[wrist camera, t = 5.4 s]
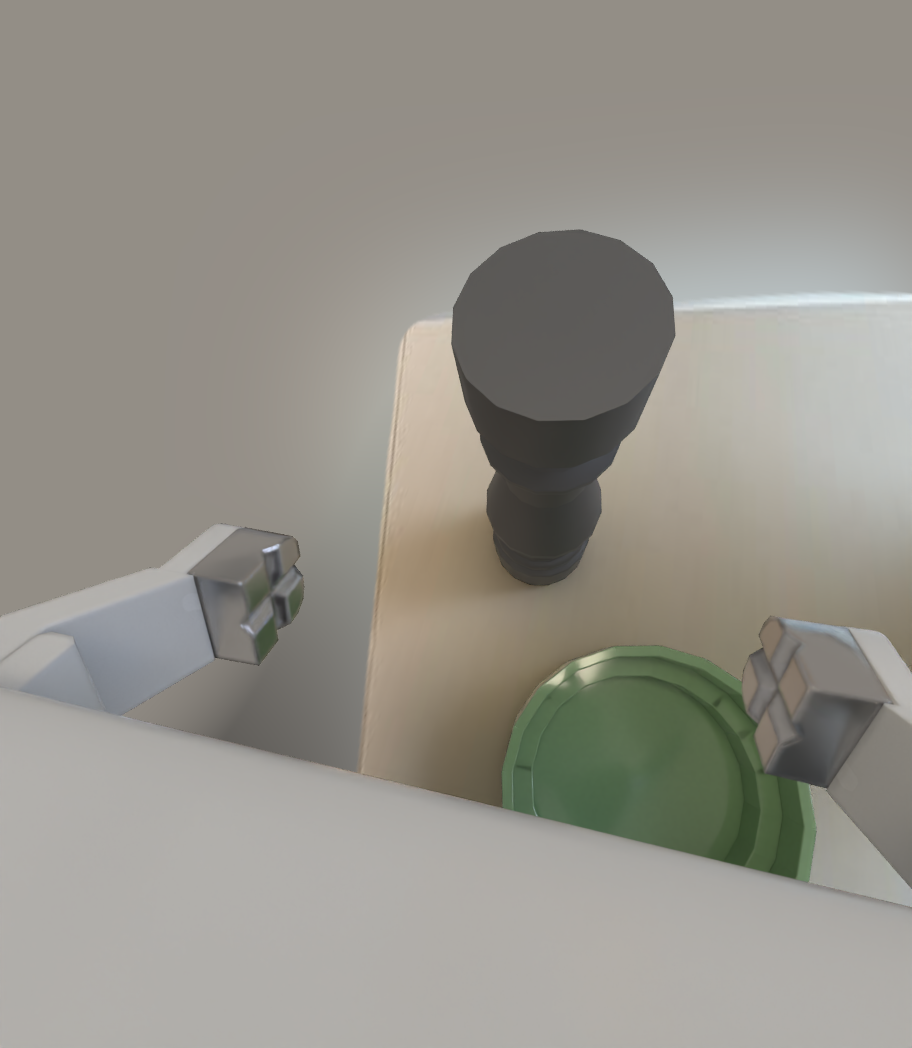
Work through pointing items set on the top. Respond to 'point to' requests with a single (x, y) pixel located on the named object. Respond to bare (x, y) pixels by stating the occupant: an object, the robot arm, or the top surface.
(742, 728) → the bowl
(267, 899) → the robot arm
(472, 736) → the top surface
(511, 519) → the candle holder
